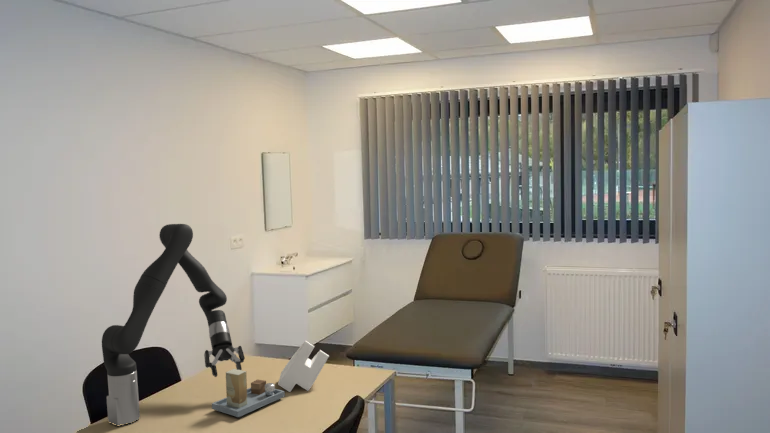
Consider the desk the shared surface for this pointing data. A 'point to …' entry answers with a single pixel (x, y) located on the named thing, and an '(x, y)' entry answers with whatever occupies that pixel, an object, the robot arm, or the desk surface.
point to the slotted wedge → (302, 368)
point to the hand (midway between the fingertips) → (227, 374)
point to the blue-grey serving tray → (252, 403)
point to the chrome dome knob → (269, 389)
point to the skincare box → (236, 388)
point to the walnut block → (258, 387)
